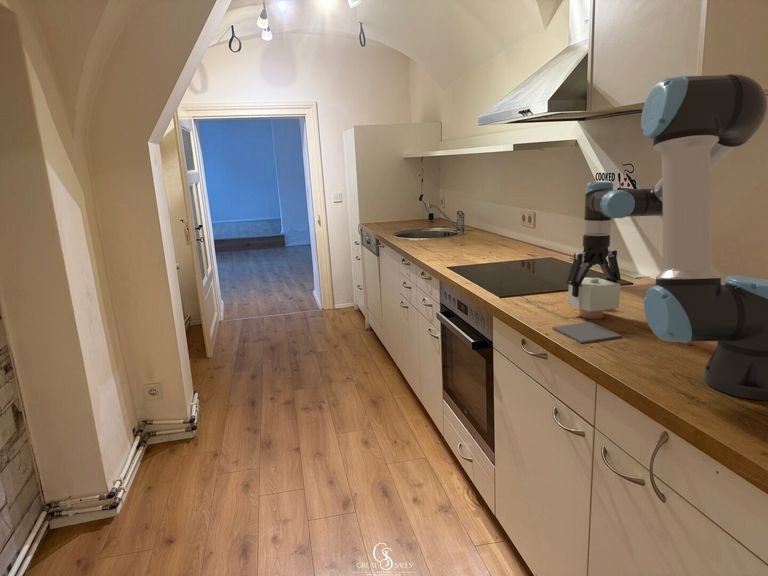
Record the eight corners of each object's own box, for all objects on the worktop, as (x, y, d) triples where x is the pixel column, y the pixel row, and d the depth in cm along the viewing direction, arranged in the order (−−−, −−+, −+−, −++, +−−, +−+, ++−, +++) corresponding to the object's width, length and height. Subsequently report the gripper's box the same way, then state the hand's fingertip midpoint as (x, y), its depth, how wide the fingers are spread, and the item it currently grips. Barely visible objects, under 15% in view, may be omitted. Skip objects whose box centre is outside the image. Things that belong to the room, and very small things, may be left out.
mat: (621, 337, 139) (621, 335, 139) (581, 343, 135) (581, 341, 135) (590, 323, 151) (590, 321, 151) (552, 329, 148) (552, 327, 147)
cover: (618, 308, 154) (620, 280, 152) (589, 311, 151) (591, 283, 149) (595, 300, 164) (597, 274, 162) (567, 303, 161) (569, 277, 159)
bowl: (608, 317, 156) (609, 306, 155) (589, 320, 154) (589, 308, 154) (593, 311, 163) (593, 300, 162) (574, 313, 161) (575, 303, 160)
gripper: (619, 230, 159) (614, 298, 164) (556, 235, 153) (553, 305, 158) (637, 232, 152) (631, 303, 157) (572, 238, 146) (568, 312, 151)
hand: (592, 304), depth 157 cm, fingers closed on cover, 10 cm apart
